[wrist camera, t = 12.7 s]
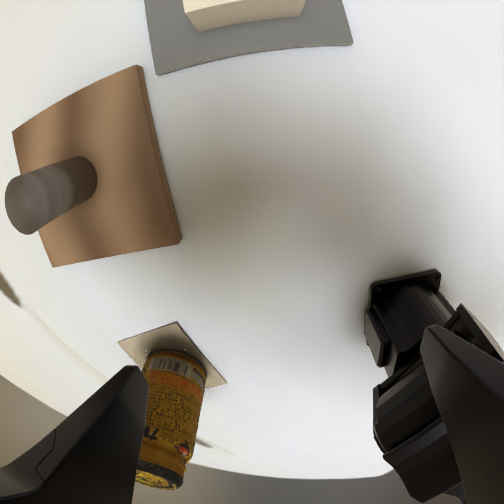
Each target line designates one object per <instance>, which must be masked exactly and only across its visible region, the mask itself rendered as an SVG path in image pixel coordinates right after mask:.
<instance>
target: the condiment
mask: <svg viewBox="0 0 504 504" xmlns="http://www.w3.org/2000/svg"><path fill="white" fill-rule="evenodd" d="M117 343H118V344H119V345H120V346H121V348H122V349H123V350H124V351H125V352H126V353H127V354H128V355H129V357H130V358H132V359H133V360H134V361H135V363H136V364H137V365H138V366H139V367H140V368H141V369H142V371H141V372H142V373H143V375H144V376H145V378H146V380H147V381H148V385H149V391H148V400H147V410H146V421H145V428H144V434H143V439H142V444H141V449H140V455H139V460H138V466H137V472H136V478H135V482H138V483H140V484H144V485H147V486H150V487H154V488H159V489H166V490H174V489H178V488H179V487H180V486H181V485H182V484H183V476H184V473H185V471H186V467H185V464H186V463H187V462H189V461H190V459H191V458H192V455H193V451H194V446H195V439H196V433H197V429H198V422H199V416H200V411H201V406H202V401H203V394H204V390H205V388H207V387H214V386H219V385H223V384H226V382H225V380H224V379H223V378H222V377H221V376H220V374H219V373H218V372H217V371H216V370H215V369H214V367H213V366H212V365H211V364H210V363H209V362H208V360H207V359H206V358H205V357H204V356H203V355H202V354H201V353H200V352H199V351H198V350H197V348H196V347H195V346H194V344H193V343H192V342H191V340H190V339H189V338H188V337H187V336H186V335H185V334H184V333H183V332H182V330H181V329H180V328H179V326H178V325H177V324H176V323H175V324H172V325H169V326H164V327H161V328H158V329H156V330H152V331H149V332H146V333H143V334H139V335H137V336H135V337H132V338H128V339H126V340H123V341H120V342H117ZM184 349H186V350H184ZM146 350H147V352H146ZM146 354H148V355H146Z"/></svg>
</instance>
